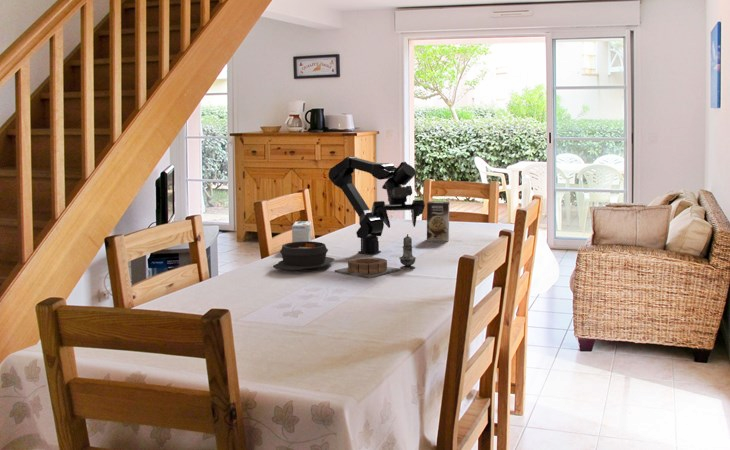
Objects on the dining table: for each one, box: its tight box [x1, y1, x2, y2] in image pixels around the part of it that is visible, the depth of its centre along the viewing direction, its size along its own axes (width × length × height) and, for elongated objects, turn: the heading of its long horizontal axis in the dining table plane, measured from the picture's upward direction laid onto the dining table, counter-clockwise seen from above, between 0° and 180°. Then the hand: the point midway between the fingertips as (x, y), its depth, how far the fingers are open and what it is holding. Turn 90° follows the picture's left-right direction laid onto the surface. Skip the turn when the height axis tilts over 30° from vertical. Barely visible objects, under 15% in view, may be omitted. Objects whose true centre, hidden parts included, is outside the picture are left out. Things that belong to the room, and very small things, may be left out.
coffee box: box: [426, 201, 451, 243], centre depth 339 cm, size 9×6×16 cm
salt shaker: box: [399, 234, 417, 271], centre depth 283 cm, size 6×6×12 cm
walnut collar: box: [334, 256, 402, 279], centre depth 279 cm, size 16×16×4 cm
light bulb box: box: [291, 220, 312, 243], centre depth 321 cm, size 11×7×11 cm, turn 178°
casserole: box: [272, 241, 335, 272], centre depth 286 cm, size 25×19×8 cm
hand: (402, 226), depth 290 cm, fingers open, 9 cm apart
